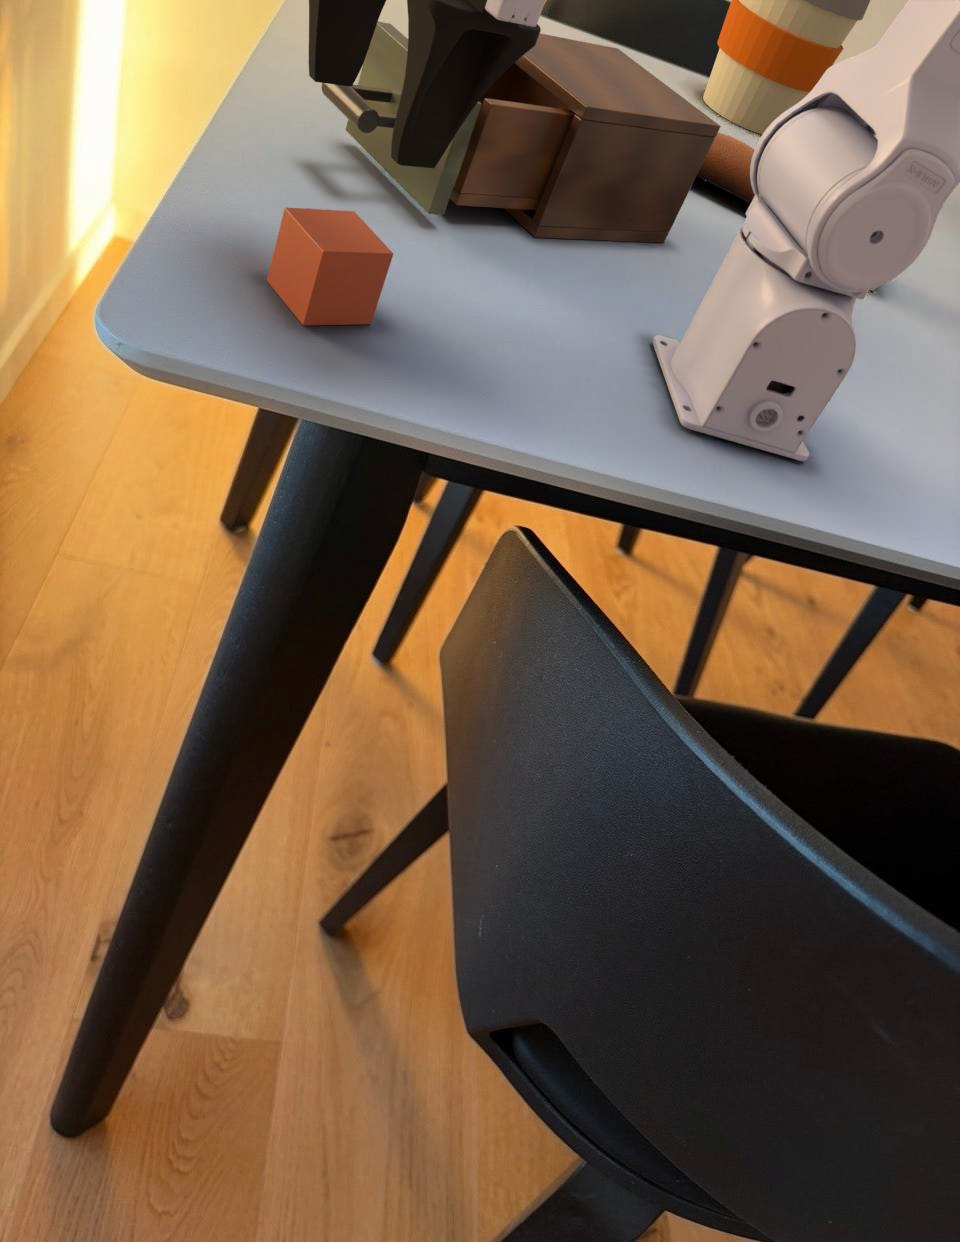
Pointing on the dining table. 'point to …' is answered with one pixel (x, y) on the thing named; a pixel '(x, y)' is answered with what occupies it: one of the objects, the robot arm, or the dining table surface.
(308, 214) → the block
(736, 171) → the sunglasses case
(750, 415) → the robot arm
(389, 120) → the drawer
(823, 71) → the reusable coffee cup
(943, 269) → the dining table surface
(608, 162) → the cabinet
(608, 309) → the dining table surface
